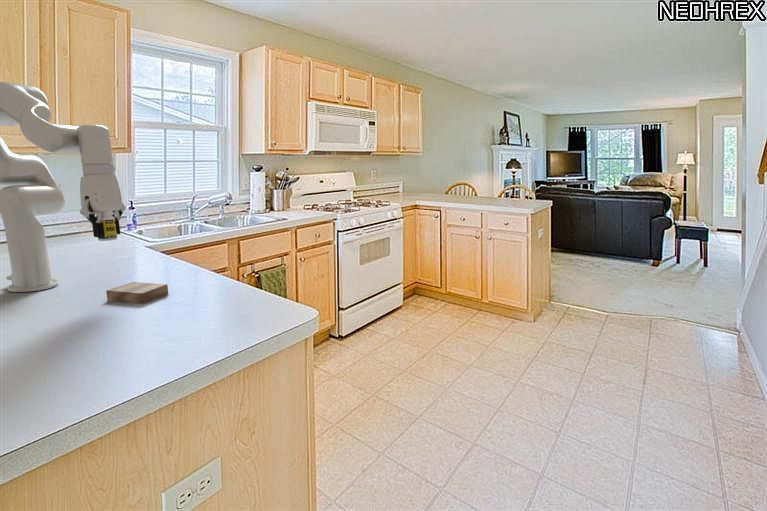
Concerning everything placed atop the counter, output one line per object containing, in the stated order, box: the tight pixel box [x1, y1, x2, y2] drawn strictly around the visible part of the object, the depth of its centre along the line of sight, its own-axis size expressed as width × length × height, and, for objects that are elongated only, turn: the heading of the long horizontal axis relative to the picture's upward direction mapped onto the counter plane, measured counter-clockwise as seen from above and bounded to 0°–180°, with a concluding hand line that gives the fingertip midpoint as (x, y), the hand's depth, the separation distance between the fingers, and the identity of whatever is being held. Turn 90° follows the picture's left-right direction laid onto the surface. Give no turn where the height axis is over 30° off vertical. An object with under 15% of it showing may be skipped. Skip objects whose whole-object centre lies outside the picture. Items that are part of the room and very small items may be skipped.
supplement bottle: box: [97, 210, 118, 242], centre depth 131 cm, size 5×5×8 cm
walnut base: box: [105, 281, 169, 305], centre depth 133 cm, size 12×10×3 cm
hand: (107, 234), depth 132 cm, fingers closed on supplement bottle, 4 cm apart
